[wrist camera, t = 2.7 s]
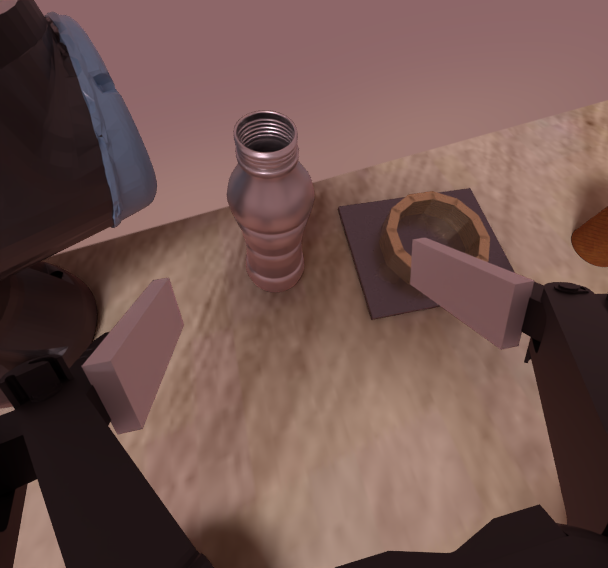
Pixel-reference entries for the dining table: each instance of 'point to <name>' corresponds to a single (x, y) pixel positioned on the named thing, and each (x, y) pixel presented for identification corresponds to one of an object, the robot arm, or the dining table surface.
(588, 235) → the disposable coffee cup
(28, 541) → the dining table surface
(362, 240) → the collar stand
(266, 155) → the plastic bottle
